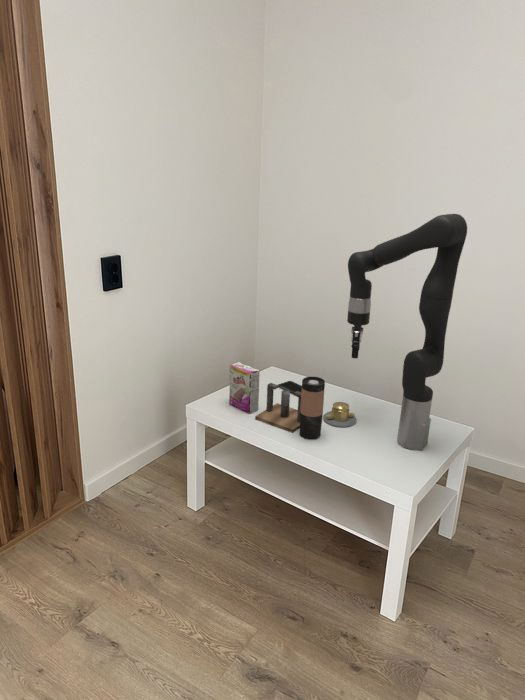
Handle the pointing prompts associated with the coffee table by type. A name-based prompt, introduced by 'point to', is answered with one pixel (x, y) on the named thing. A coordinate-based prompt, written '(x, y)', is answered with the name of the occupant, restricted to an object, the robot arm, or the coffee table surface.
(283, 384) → the phone
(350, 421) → the coaster
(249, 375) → the candy bar box
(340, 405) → the brass pipe fitting
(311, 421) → the travel mug
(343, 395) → the coffee table surface
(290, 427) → the stand
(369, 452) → the coffee table surface
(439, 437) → the coffee table surface
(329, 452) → the coffee table surface
